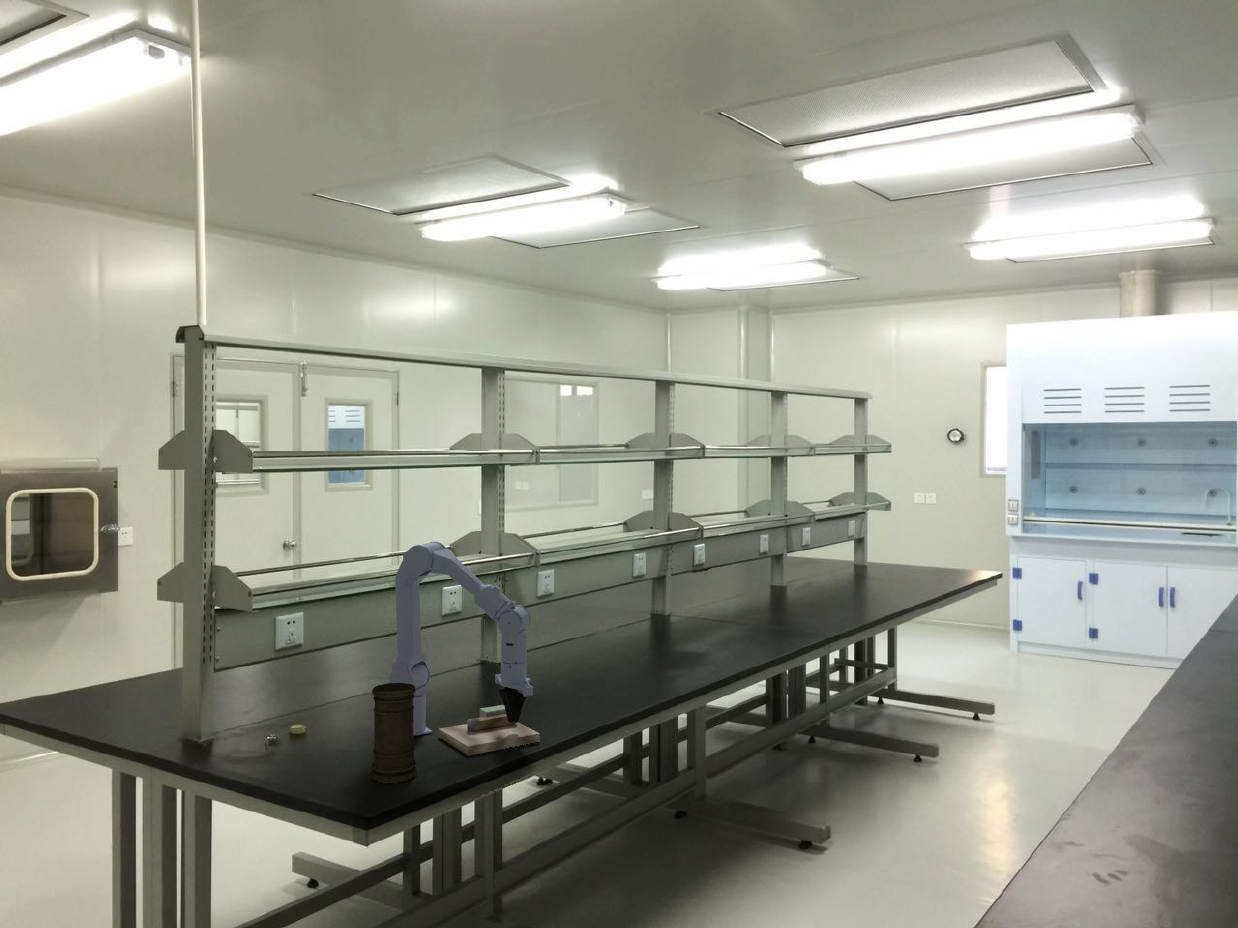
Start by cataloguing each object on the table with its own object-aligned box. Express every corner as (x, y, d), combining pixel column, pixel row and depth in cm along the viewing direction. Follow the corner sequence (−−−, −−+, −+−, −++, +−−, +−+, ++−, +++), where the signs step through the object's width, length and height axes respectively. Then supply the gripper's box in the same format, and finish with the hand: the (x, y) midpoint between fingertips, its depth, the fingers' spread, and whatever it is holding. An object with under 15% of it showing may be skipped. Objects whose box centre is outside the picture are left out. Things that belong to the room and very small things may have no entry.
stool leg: (470, 731, 222) (470, 722, 222) (465, 728, 224) (465, 719, 224) (517, 723, 229) (517, 714, 229) (511, 720, 231) (511, 711, 231)
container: (388, 787, 193) (388, 695, 192) (362, 776, 199) (362, 687, 198) (426, 775, 199) (426, 686, 199) (399, 765, 205) (399, 679, 205)
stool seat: (468, 755, 212) (468, 746, 212) (438, 737, 225) (438, 728, 225) (539, 742, 222) (539, 733, 222) (507, 725, 235) (508, 717, 235)
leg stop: (486, 725, 227) (486, 712, 227) (479, 722, 230) (479, 708, 230) (509, 721, 231) (509, 708, 231) (502, 718, 234) (502, 704, 234)
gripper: (545, 665, 219) (544, 726, 219) (514, 653, 231) (514, 711, 231) (516, 669, 215) (516, 731, 215) (487, 656, 227) (486, 715, 227)
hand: (513, 721), depth 223 cm, fingers closed
